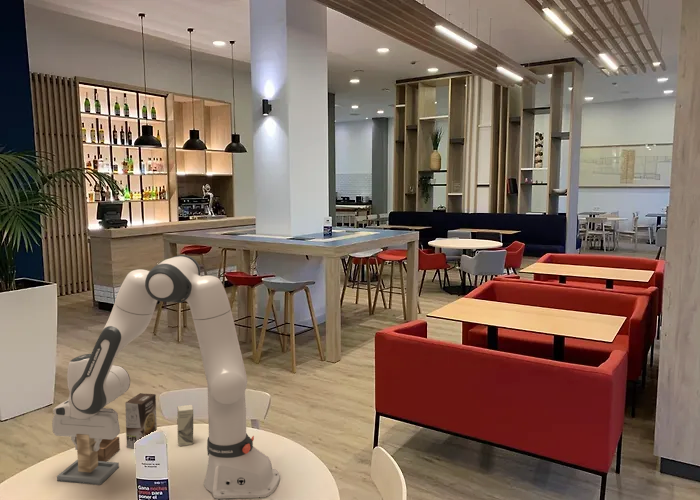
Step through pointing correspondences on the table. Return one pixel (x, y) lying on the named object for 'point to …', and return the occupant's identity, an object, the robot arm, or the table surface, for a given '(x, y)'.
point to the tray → (88, 473)
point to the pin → (86, 453)
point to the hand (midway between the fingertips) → (87, 449)
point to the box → (185, 425)
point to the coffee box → (140, 417)
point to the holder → (108, 449)
